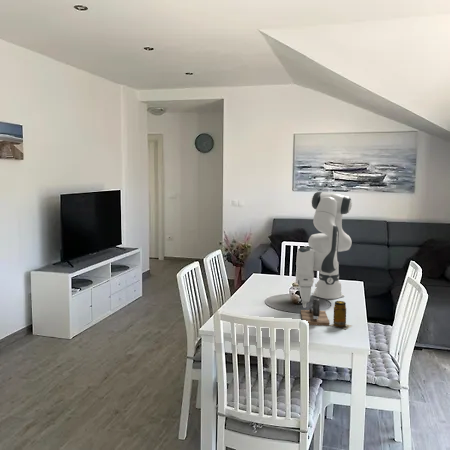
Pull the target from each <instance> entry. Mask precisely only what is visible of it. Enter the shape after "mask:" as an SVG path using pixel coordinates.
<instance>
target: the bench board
mask: <svg viewBox="0 0 450 450" xmlns="http://www.w3.org/2000/svg"><path fill="white" fill-rule="evenodd" d="M300 316H301V320H302V319H303V320H306V321H308V323H309V325H308V326H326V327H327V326H328V327H329V326H330V325H331V324H330V321H329V317H328V314H327V313H326V310H320V316H318V319H313V315H312V312H310V311H309V309H307V310H306V309H300Z"/></svg>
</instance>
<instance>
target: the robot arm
mask: <svg viewBox="0 0 450 450" xmlns="http://www.w3.org/2000/svg"><path fill="white" fill-rule="evenodd" d="M352 204H353V202H352V199H351V197H350V196H348V195H344V194H343V195H342V194H340V193H335V192H333V193H332V192H323V191H316V192H315V193H313V196H311V207H312V208H313V209H314V210H315V212H314V214H313V215H314V216H313V221H312V222H313V223H312V224H313V225H314V227H315V228H316V230H317V231H318V232H320V233H314V234H311V235H310V236H309V238H308V240H307V241H308V246H306V245H305V246H301V247H298V249H297V252H296V258H295V259H296V260H295V261H296V262H295V265H296V271H295V283H296V284H297V286H298V287H299V294H300V297H301V298H300V299H301V304H302V308H304V309H306V308H307V304H308V303H310V301H311V294H312V296H313V297H318V298H319V299H320V298H321V299H329V300H333V299H334V300H336V299H340V298H342V297H343V298H344V297H345V294H344V293H342V282H340V273H339V267H340V266H339V264H340V262H339V261H338V260H339V259H338V258H339V257H338V253H339V252H340V253H341V252H346V251H350V250H351V247H352V243H353V242H352V238H351V237H350V235H349V234H347V233H346V231H344V229H343V225H342V224H343V223H342V222H343V215H348V214H349V213H350V211H351V209H352V206H353V205H352ZM314 271H316V272H319V274H318V279H319V280H318V281H317V282H316V283H315V284H314V281H315V279H314V277H315V275H314V274H315V272H314ZM313 284H314V286H313ZM313 287H315V289H314V291H313V293H312V288H313Z"/></svg>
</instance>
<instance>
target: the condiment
mask: <svg viewBox="0 0 450 450" xmlns="http://www.w3.org/2000/svg"><path fill="white" fill-rule="evenodd" d="M332 321H333V323H332V324H330V325H329V326H331V327H334V328H339V329H343V330H347V329H349V328H352V327H353V325H350V324H347V306H346V302H345V301H344V300H336V301H334V306H333V320H332Z"/></svg>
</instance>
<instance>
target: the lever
mask: <svg viewBox="0 0 450 450" xmlns="http://www.w3.org/2000/svg"><path fill="white" fill-rule="evenodd" d="M320 305H321V299H320V298H312V304H309V305H308V306H309V307H308V308H309V309H308V310H309V311H310V312H312V315H313V319H318V316H320V311H321V309H320V308H321V306H320Z"/></svg>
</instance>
